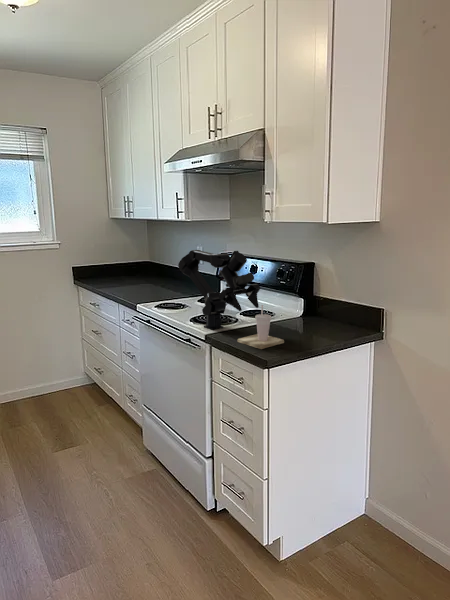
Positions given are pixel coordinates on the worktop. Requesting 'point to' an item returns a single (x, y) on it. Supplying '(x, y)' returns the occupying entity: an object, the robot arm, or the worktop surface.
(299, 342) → the worktop surface
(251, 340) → the cutting board
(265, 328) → the smoothie
